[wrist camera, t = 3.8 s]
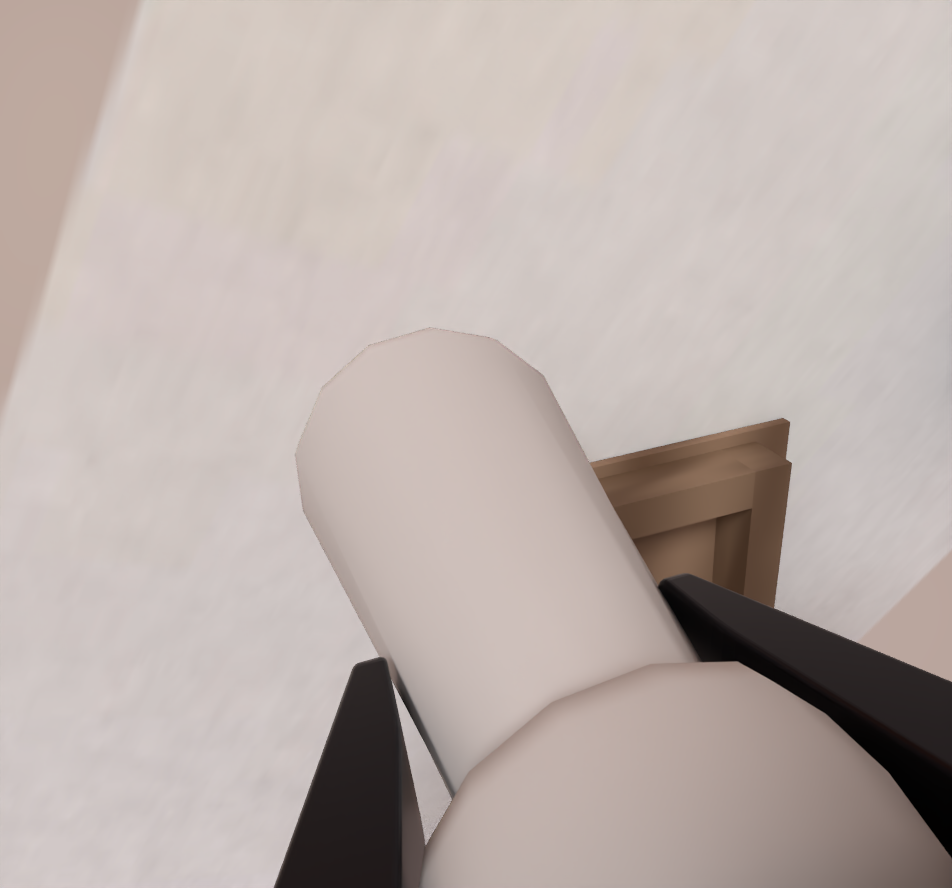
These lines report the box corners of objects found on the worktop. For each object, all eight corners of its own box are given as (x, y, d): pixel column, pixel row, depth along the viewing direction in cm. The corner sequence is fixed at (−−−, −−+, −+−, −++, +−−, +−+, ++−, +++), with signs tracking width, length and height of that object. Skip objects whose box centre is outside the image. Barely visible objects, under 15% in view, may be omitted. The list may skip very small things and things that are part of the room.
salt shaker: (468, 550, 18) (816, 1273, 6) (260, 493, 15) (198, 1474, 4) (565, 357, 16) (1264, 843, 5) (350, 263, 14) (679, 762, 2)
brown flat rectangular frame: (782, 418, 25) (829, 441, 23) (754, 665, 31) (789, 702, 29) (409, 504, 22) (423, 540, 20) (453, 761, 28) (468, 811, 26)
